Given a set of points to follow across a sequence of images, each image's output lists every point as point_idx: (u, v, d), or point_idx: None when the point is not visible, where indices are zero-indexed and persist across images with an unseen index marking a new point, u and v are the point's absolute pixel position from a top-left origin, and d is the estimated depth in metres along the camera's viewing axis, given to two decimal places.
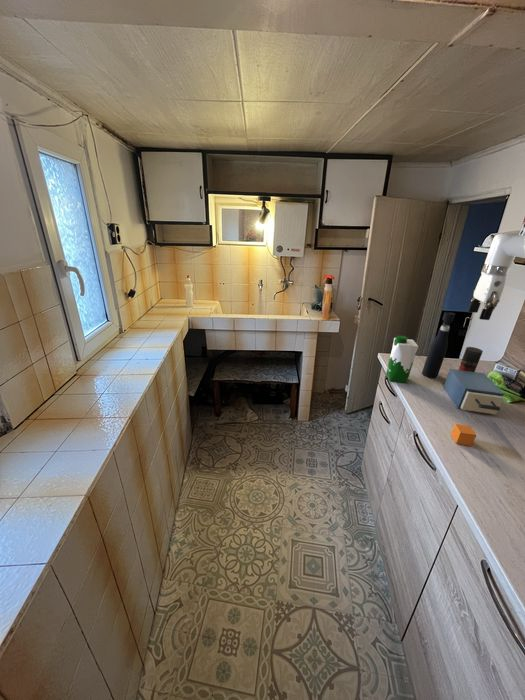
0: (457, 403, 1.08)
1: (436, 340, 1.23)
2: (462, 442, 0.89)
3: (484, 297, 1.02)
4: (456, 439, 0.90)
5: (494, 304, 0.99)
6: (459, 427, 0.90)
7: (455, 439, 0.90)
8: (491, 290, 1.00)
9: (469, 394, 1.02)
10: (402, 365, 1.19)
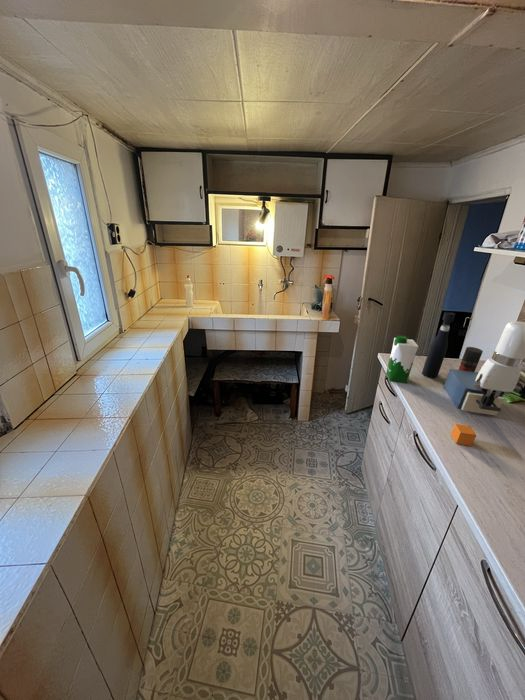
0: (457, 403, 1.08)
1: (436, 340, 1.23)
2: (462, 442, 0.89)
3: (512, 388, 0.94)
4: (456, 439, 0.90)
5: None
6: (459, 427, 0.90)
7: (455, 439, 0.90)
8: None
9: (470, 395, 1.02)
10: (402, 365, 1.19)
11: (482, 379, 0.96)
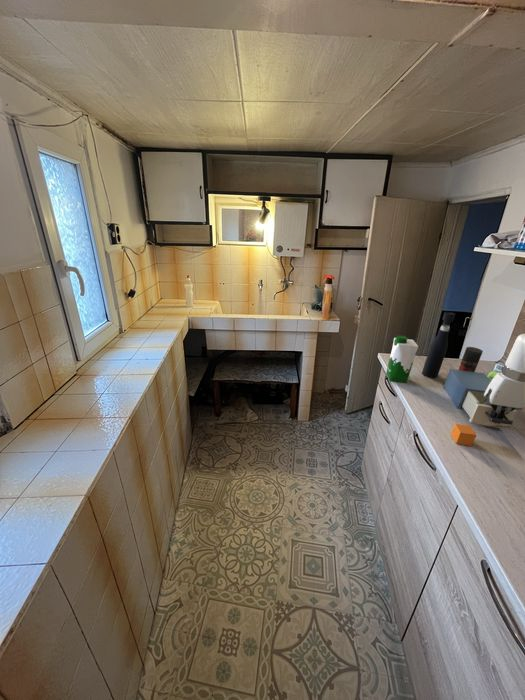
0: (457, 403, 1.08)
1: (436, 340, 1.23)
2: (462, 442, 0.89)
3: (524, 404, 0.88)
4: (456, 439, 0.90)
5: None
6: (459, 427, 0.90)
7: (455, 439, 0.90)
8: None
9: (479, 406, 0.95)
10: (402, 365, 1.19)
11: (491, 394, 0.90)
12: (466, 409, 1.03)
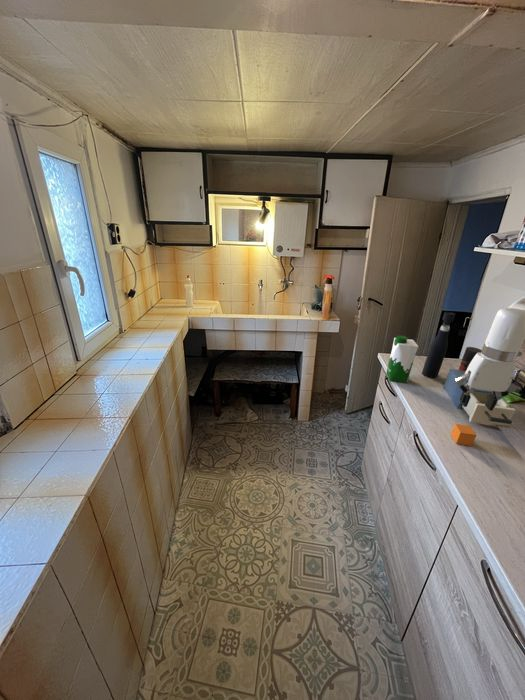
0: (457, 403, 1.08)
1: (436, 340, 1.23)
2: (462, 442, 0.89)
3: (505, 387, 0.79)
4: (456, 439, 0.90)
5: None
6: (459, 427, 0.90)
7: (455, 439, 0.90)
8: None
9: (478, 406, 0.96)
10: (402, 365, 1.19)
11: (470, 377, 0.81)
12: (466, 408, 1.04)
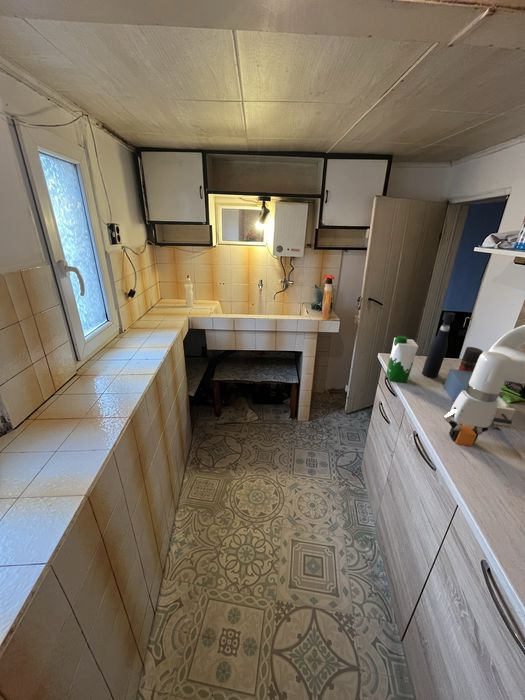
0: None
1: (436, 340, 1.23)
2: (462, 442, 0.89)
3: (488, 423, 0.85)
4: (456, 439, 0.90)
5: None
6: None
7: None
8: None
9: None
10: (402, 365, 1.19)
11: (456, 413, 0.87)
12: None
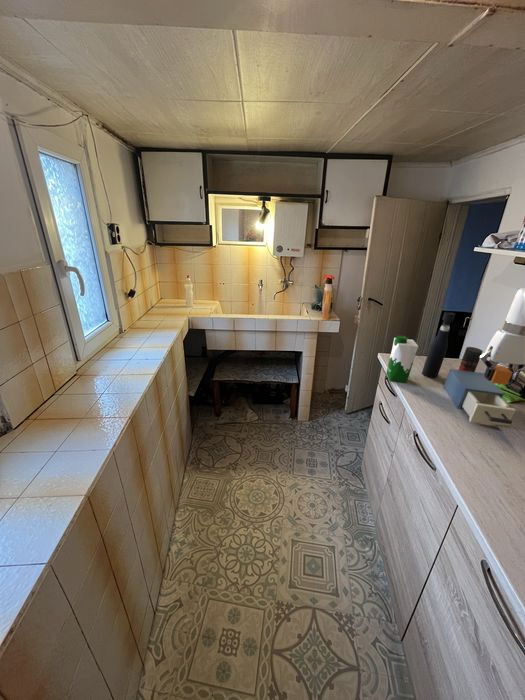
0: (457, 403, 1.08)
1: (436, 340, 1.23)
2: (498, 381, 0.92)
3: None
4: (492, 378, 0.93)
5: None
6: None
7: (491, 379, 0.93)
8: None
9: (478, 406, 0.96)
10: (402, 365, 1.19)
11: (492, 352, 0.90)
12: (466, 408, 1.04)
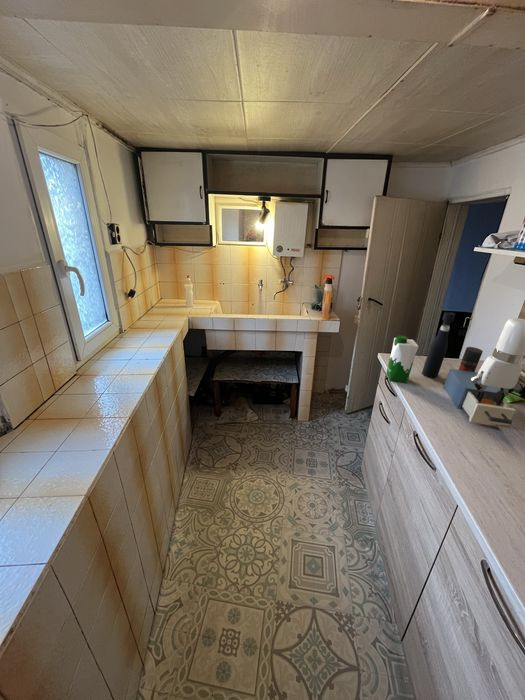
0: (457, 403, 1.08)
1: (436, 340, 1.23)
2: None
3: (513, 384, 0.94)
4: None
5: None
6: (481, 400, 1.01)
7: None
8: None
9: (478, 406, 0.96)
10: (402, 365, 1.19)
11: (483, 376, 0.96)
12: (466, 408, 1.04)
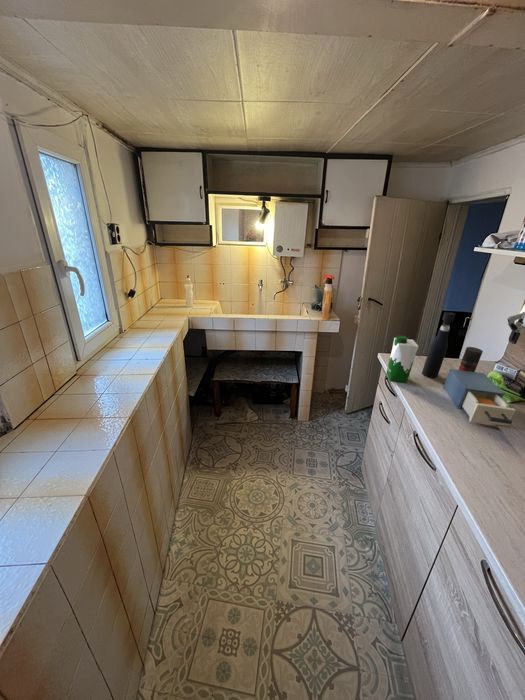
0: (457, 403, 1.08)
1: (436, 340, 1.23)
2: None
3: None
4: None
5: None
6: (481, 400, 1.01)
7: None
8: None
9: (478, 406, 0.96)
10: (402, 365, 1.19)
11: None
12: (466, 408, 1.04)
